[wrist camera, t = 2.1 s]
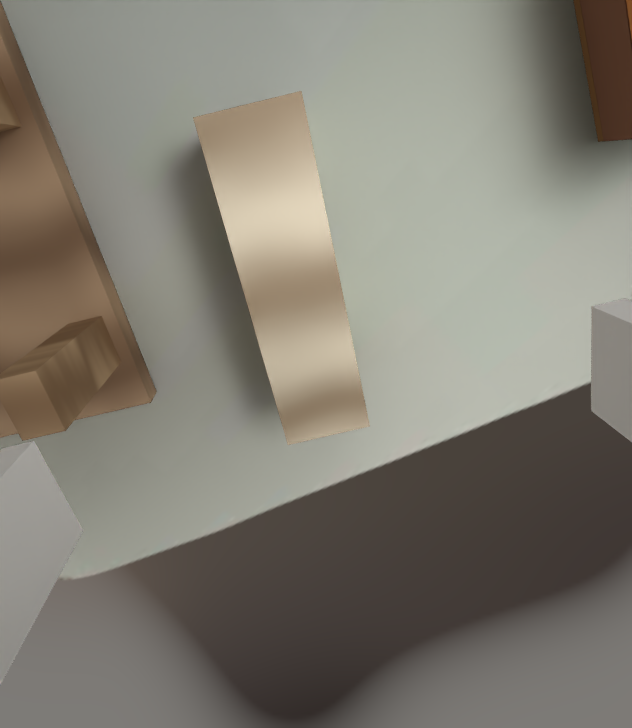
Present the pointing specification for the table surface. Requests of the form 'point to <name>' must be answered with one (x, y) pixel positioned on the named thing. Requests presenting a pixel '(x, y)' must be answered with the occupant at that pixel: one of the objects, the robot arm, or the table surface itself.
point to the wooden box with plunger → (608, 63)
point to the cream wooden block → (286, 262)
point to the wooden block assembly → (53, 280)
